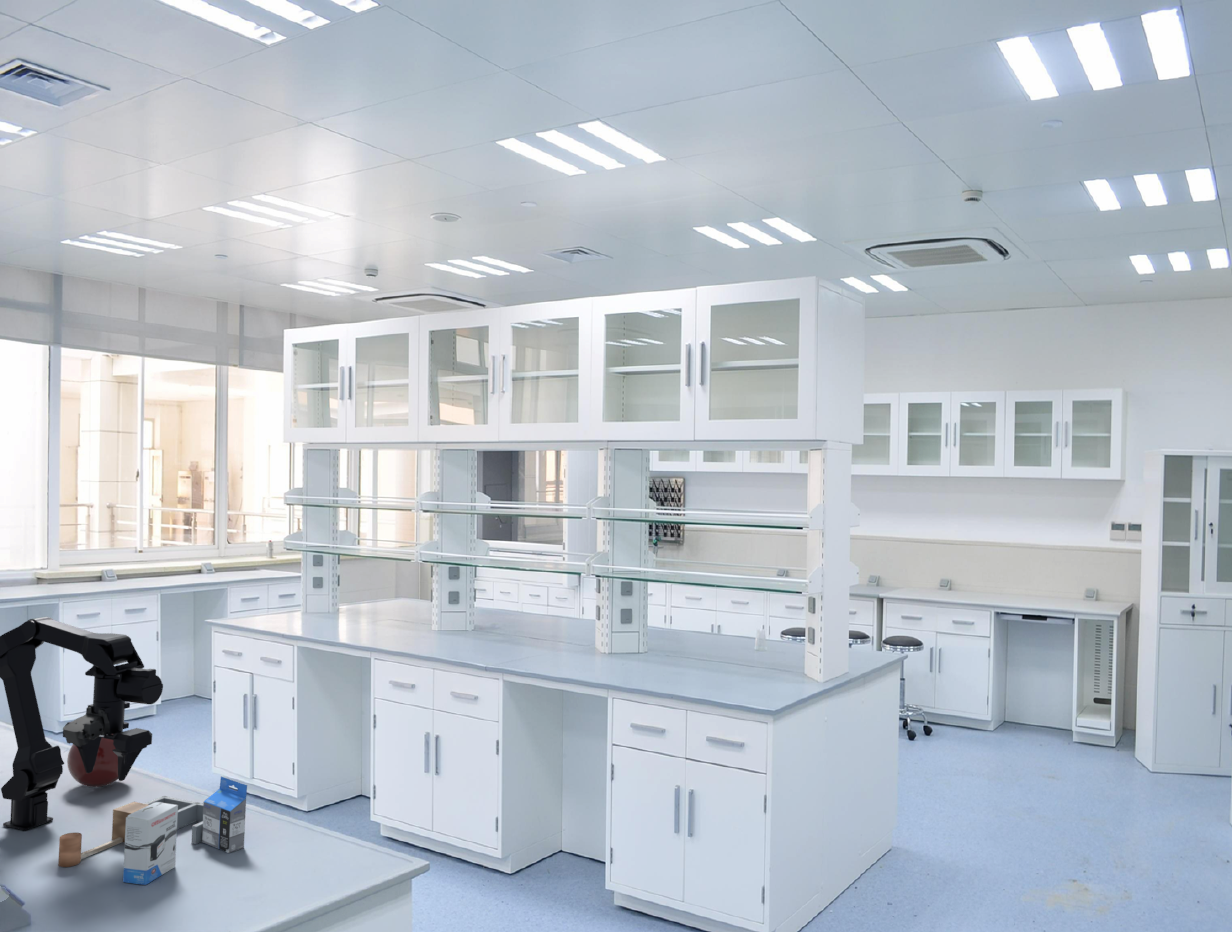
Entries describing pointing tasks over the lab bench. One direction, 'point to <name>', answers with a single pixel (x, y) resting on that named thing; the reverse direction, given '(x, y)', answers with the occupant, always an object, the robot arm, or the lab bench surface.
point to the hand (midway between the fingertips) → (105, 776)
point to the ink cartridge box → (225, 817)
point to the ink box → (150, 843)
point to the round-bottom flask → (103, 767)
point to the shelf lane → (186, 815)
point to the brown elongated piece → (72, 845)
